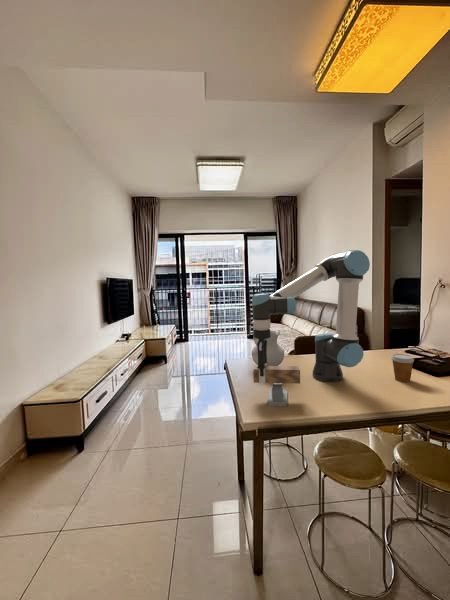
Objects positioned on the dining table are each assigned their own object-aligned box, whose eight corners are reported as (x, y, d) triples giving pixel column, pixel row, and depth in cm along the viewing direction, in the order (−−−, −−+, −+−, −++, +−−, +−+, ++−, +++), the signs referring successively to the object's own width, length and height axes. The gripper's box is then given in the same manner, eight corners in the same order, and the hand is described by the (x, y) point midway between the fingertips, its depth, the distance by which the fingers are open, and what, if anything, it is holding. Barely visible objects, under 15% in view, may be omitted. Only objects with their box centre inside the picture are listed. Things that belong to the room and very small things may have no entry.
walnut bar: (298, 379, 120) (298, 366, 120) (300, 383, 115) (300, 369, 115) (253, 378, 122) (253, 365, 122) (253, 382, 117) (253, 369, 117)
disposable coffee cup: (411, 377, 135) (412, 354, 135) (416, 384, 127) (416, 359, 126) (390, 375, 139) (389, 353, 139) (392, 382, 131) (392, 358, 130)
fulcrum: (287, 392, 124) (287, 380, 123) (286, 406, 110) (286, 392, 110) (270, 391, 126) (269, 379, 126) (267, 405, 112) (266, 391, 112)
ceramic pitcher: (243, 370, 161) (239, 330, 157) (260, 360, 175) (258, 323, 172) (274, 378, 146) (271, 334, 143) (291, 366, 161) (288, 325, 158)
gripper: (256, 325, 128) (257, 372, 129) (249, 332, 110) (251, 387, 111) (272, 325, 126) (273, 373, 127) (268, 332, 108) (269, 388, 109)
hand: (263, 380), depth 119 cm, fingers closed on walnut bar, 5 cm apart
